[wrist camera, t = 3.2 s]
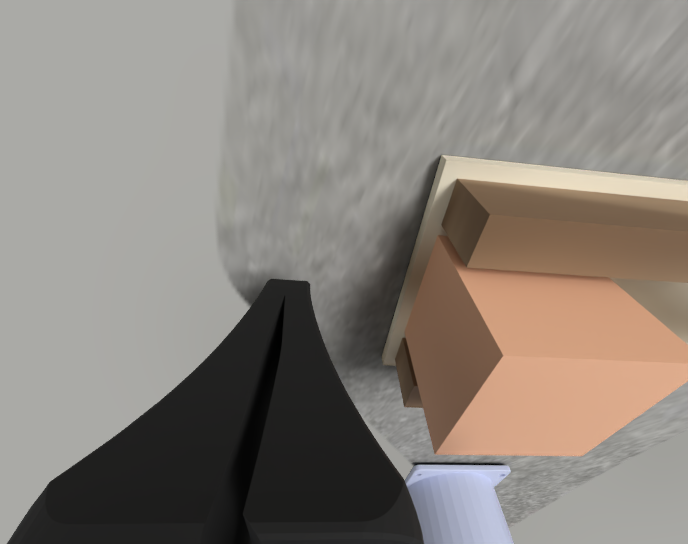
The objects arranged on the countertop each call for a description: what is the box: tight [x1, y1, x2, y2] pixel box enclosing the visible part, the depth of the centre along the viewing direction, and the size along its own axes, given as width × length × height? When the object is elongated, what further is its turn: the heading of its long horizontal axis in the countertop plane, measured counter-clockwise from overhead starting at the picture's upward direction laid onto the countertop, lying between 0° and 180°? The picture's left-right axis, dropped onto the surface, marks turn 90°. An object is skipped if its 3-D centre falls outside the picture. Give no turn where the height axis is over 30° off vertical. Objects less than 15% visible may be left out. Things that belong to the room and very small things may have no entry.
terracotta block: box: [405, 235, 688, 456], centre depth 10 cm, size 5×5×5 cm
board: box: [382, 155, 688, 366], centre depth 13 cm, size 10×19×1 cm, turn 84°
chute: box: [395, 178, 688, 408], centre depth 11 cm, size 9×11×2 cm
